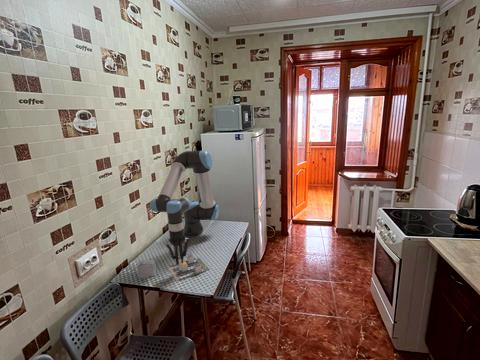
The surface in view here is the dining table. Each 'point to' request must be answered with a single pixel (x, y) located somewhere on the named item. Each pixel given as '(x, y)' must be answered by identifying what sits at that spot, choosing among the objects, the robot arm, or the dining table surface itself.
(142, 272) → the medicine box
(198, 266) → the block
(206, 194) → the robot arm
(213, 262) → the dining table surface
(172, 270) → the panel
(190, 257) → the block
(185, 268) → the block
